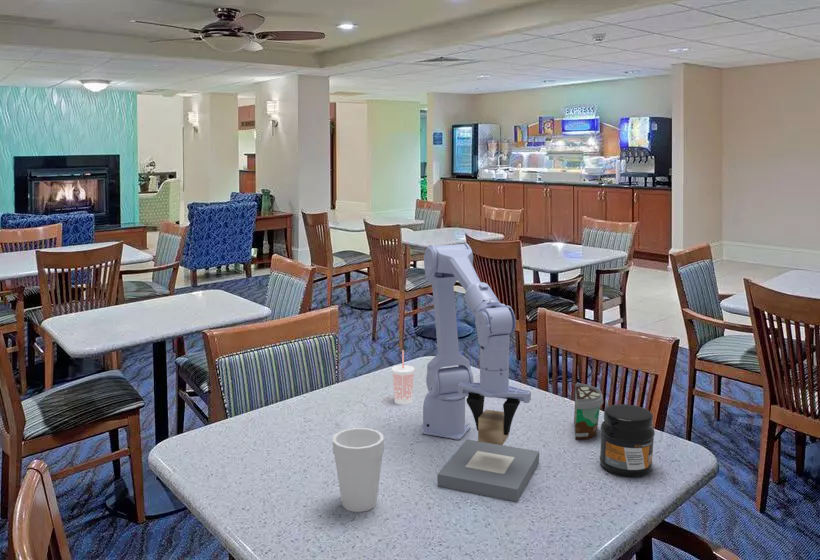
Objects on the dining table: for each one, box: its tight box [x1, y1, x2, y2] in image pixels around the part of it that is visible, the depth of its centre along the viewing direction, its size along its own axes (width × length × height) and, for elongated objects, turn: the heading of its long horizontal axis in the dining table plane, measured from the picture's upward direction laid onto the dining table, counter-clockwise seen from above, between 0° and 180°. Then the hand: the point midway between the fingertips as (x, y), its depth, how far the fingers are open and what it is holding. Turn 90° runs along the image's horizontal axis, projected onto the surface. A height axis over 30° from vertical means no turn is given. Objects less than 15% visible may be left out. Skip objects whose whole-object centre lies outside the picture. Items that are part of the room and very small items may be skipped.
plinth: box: [436, 439, 540, 502], centre depth 140 cm, size 16×18×3 cm
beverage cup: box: [390, 349, 416, 406], centre depth 180 cm, size 6×6×14 cm
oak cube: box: [477, 409, 510, 445], centre depth 140 cm, size 5×5×5 cm
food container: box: [573, 382, 604, 441], centre depth 160 cm, size 12×6×10 cm, turn 168°
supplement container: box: [599, 403, 655, 477], centre depth 142 cm, size 10×10×12 cm
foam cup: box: [332, 427, 385, 513], centre depth 128 cm, size 10×9×13 cm
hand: (493, 431), depth 140 cm, fingers closed on oak cube, 5 cm apart
